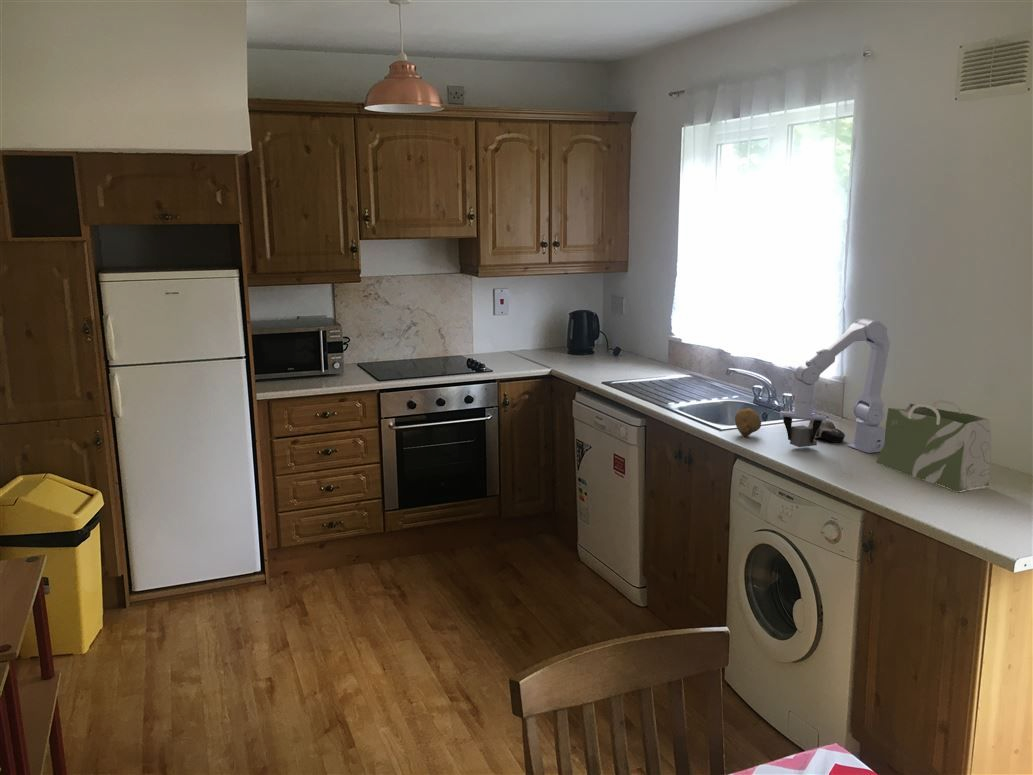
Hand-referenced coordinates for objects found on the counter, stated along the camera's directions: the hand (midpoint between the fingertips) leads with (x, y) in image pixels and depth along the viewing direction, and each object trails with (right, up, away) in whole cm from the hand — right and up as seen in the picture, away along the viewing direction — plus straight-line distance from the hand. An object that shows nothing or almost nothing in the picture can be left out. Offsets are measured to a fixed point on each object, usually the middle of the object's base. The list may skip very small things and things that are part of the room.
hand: (800, 440), depth 291 cm
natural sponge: (-14, 0, +16) cm, 21 cm away
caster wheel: (+14, -1, +14) cm, 20 cm away
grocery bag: (+31, -9, -25) cm, 41 cm away
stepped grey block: (+1, -1, +1) cm, 2 cm away
